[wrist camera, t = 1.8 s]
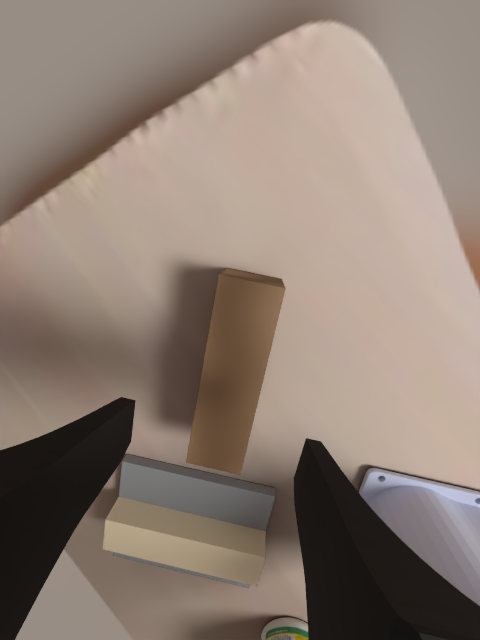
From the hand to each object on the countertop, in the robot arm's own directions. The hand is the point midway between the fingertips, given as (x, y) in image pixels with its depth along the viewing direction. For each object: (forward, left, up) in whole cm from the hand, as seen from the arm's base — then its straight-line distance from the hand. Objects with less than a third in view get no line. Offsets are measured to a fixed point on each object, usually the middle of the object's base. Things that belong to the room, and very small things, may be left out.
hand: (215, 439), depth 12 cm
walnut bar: (0, 0, -9) cm, 9 cm away
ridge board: (+1, +15, -9) cm, 17 cm away
